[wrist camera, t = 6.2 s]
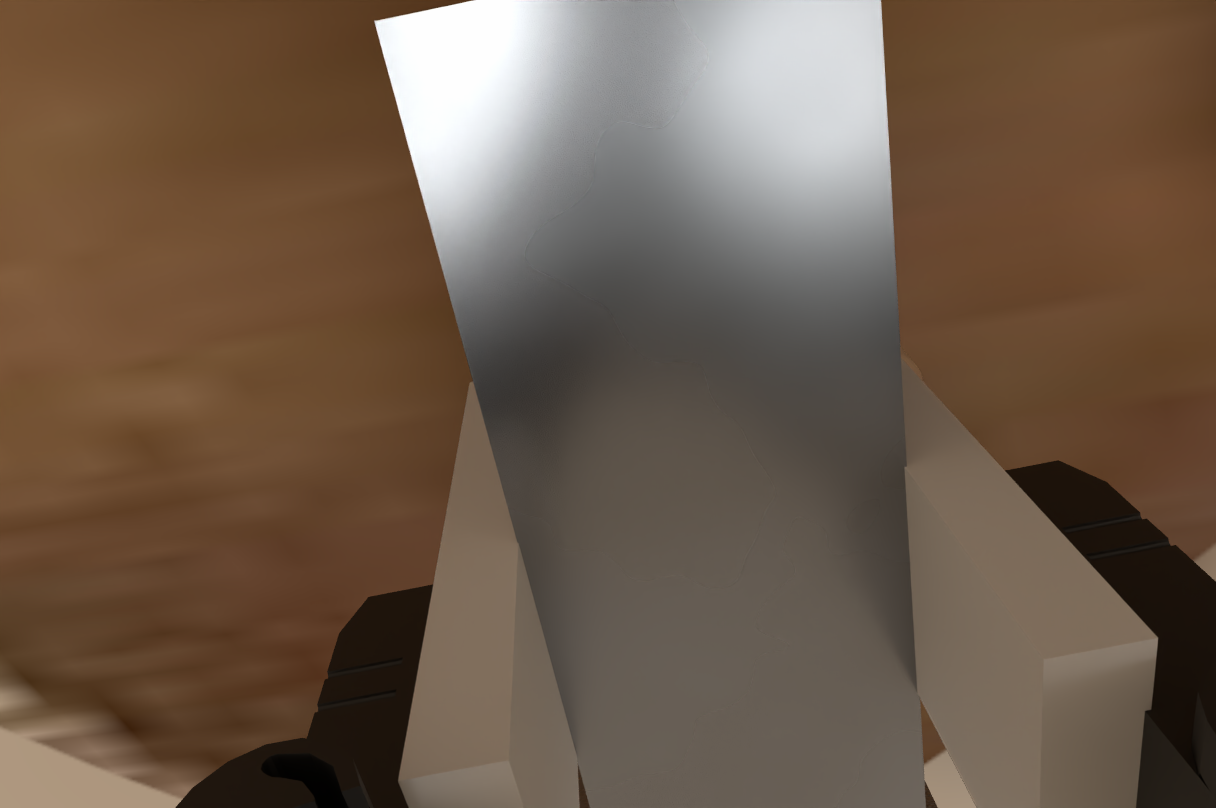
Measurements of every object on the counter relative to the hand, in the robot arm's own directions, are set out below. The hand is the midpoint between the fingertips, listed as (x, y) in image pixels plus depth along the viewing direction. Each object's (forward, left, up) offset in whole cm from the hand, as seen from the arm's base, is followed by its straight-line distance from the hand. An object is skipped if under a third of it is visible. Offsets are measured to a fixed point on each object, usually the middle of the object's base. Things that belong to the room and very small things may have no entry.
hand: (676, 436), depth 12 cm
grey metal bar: (0, 0, -1) cm, 1 cm away
